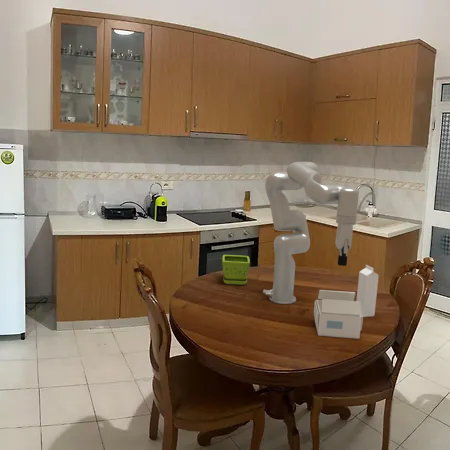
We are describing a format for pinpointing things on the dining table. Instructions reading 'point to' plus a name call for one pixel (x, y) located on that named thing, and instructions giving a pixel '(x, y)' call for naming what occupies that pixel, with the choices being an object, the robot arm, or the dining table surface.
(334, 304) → the flap near
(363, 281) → the milk
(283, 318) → the dining table surface
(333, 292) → the flap far
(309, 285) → the dining table surface
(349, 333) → the carton
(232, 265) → the flower pot
